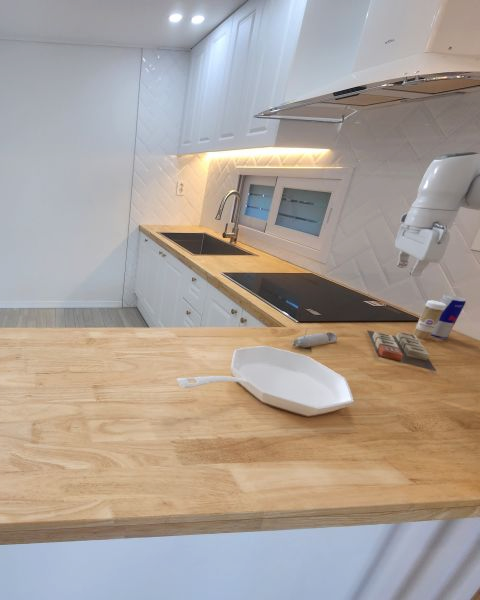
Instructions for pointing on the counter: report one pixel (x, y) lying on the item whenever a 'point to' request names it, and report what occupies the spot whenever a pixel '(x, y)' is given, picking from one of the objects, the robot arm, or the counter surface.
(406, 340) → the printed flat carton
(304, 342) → the torpedo
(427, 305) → the sprinkles bottle
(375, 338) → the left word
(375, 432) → the counter surface
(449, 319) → the beverage can
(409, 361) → the letter board
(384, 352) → the s tile
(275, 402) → the pan
